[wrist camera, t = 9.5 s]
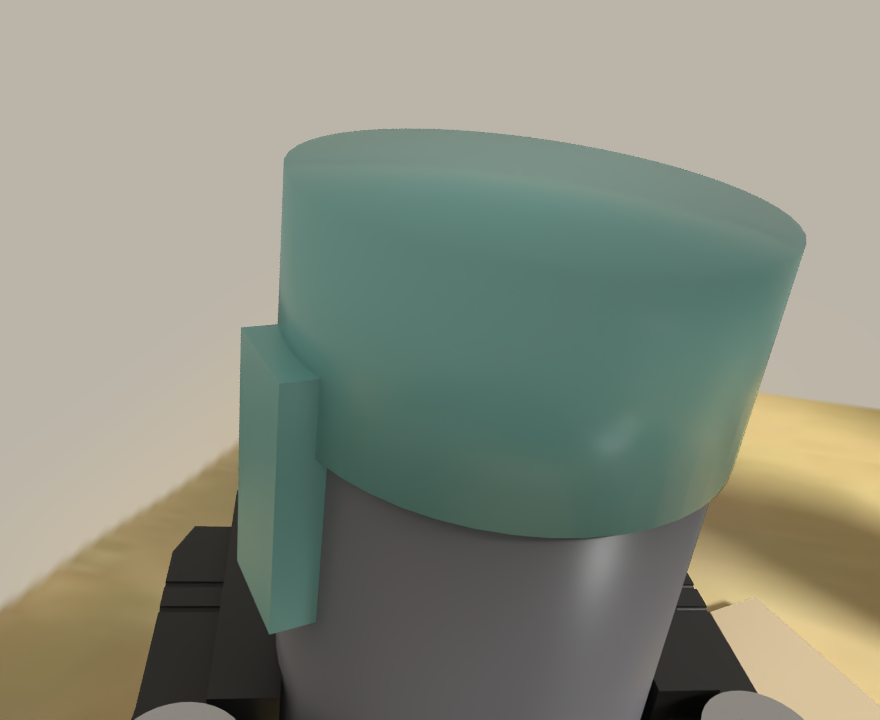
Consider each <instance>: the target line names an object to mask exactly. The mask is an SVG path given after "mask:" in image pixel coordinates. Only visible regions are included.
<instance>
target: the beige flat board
mask: <svg viewBox="0 0 880 720" xmlns="http://www.w3.org/2000/svg"><path fill="white" fill-rule="evenodd" d="M710 613H711V614H712V616H713V618H714V619H715V621H716V623H717V625H718V626H719V628H720V630H721V631H722V633H723V635H724V637H725V638H726V640H727V642H728V643H729V645H730V647H731V648H732V650H733V652H734V654H735V655H736V657H737V659H738V660H739V662H740V664H741V666H742V667H743V669H744V671H745V672H746V674H747V676H748V677H749V679H750V681H751V683H752V684H753V686H754V688H755V689H756V691H757V693H758V694H762V695H764V696H767V697H770V698H772V699H774V700H776V701H778V702H780V703H782V704H784V705H785V706H787V707H789V708H790V709H792V710H793V711H794V712H796V713H797V714H798V715H800V716H801V717H802V718H803V719H804V720H880V705H878V704H877V703H876V702H875V701H874V700H873V699H872V698H870V697H869V696H868V695H867V694H866V693H865V692H864V691H862V690H861V689H860V688H859V687H858V686H857V685H856V684H854V683H853V682H852V681H851V680H850V679H849V678H848V677H846V676H845V675H844V674H843V673H842V672H841V671H840V670H838V669H837V668H836V667H835V666H834V665H833V664H832V663H830V662H829V661H828V660H827V659H826V658H825V657H824V656H822V655H821V654H820V653H819V652H818V651H817V650H815V649H814V648H813V647H812V646H811V645H810V644H809V643H807V642H806V641H805V640H804V639H803V638H802V637H801V636H799V635H798V634H797V633H796V632H795V631H794V630H793V629H791V628H790V627H789V626H788V625H787V624H786V623H785V622H783V621H782V620H781V619H780V618H779V617H778V616H777V615H775V614H774V613H773V612H772V611H771V610H770V609H769V608H767V607H766V606H765V605H764V604H763V603H762V602H761V601H759V600H758V599H757V598H756V597H753V598H750V599H747V600H744V601H741V602H738V603H735V604H732V605H729V606H726V607H723V608H720V609H717V610H714V611H711V612H710Z"/></svg>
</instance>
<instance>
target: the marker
mask: <svg viewBox="0 0 880 720" xmlns="http://www.w3.org/2000/svg"><path fill="white" fill-rule="evenodd" d="M283 174H284V175H283V199H282V226H281V253H280V279H279V307H278V324H276V325H266V326H254V327H244V328H241V364H240V367H241V368H240V424H239V426H240V427H239V484H238V544H237V562H238V564H239V566H240V568H241V571H242V573H243V575H244V578H245V580H246V582H247V585H248V587H249V589H250V591H251V594H252V596H253V598H254V601H255V603H256V605H257V608H258V610H259V612H260V615H261V617H262V619H263V621H264V624H265V626H266V628H267V631H268V633H269V635H270V634H274V633H276V649H277V656H278V662H279V666H280V669H281V688H280V708H279V720H640V719H641V716H642V712H643V709H644V706H645V703H646V700H647V697H648V693H649V690H650V687H651V684H652V681H653V678H654V675H655V671H656V668H657V665H658V662H659V659H660V656H661V652H662V649H663V646H664V643H665V640H666V637H667V634H668V630H669V627H670V624H671V621H672V618H673V615H674V612H675V608H676V605H677V602H678V599H679V596H680V593H681V589H682V586H683V583H684V580H685V577H686V574H687V571H688V567H689V564H690V561H691V558H692V555H693V552H694V548H695V545H696V542H697V539H698V536H699V533H700V530H701V526H702V523H703V520H704V517H705V514H706V511H707V508H708V504H709V501H711V500H712V499H713V498H715V497H716V496H717V494H718V493H719V492H720V491H721V490H722V488H723V487H724V486H725V485H726V483H727V481H728V479H729V477H730V474H731V472H732V470H733V467H734V464H735V461H736V458H737V455H738V452H739V449H740V446H741V442H742V439H743V436H744V433H745V430H746V427H747V424H748V421H749V418H750V415H751V412H752V409H753V406H754V402H755V399H756V396H757V393H758V390H759V387H760V384H761V381H762V378H763V375H764V372H765V369H766V366H767V362H768V359H769V356H770V353H771V350H772V347H773V344H774V341H775V338H776V335H777V332H778V329H779V326H780V322H781V319H782V316H783V313H784V310H785V307H786V304H787V301H788V298H789V295H790V292H791V289H792V286H793V283H794V280H795V277H796V273H797V270H798V267H799V264H800V261H801V258H802V255H803V252H804V249H805V245H806V235H805V233H804V231H803V230H802V228H801V227H800V225H799V224H798V223H797V222H796V221H795V220H794V219H793V218H792V217H790V216H789V215H788V214H786V213H785V212H783V211H782V210H780V209H779V208H777V207H776V206H774V205H772V204H770V203H768V202H767V201H765V200H763V199H761V198H759V197H757V196H754V195H752V194H750V193H748V192H746V191H743V190H741V189H739V188H736V187H733V186H731V185H728V184H725V183H723V182H720V181H718V180H715V179H712V178H709V177H706V176H703V175H700V174H696V173H693V172H690V171H687V170H684V169H681V168H677V167H673V166H670V165H666V164H662V163H659V162H655V161H651V160H647V159H643V158H639V157H634V156H630V155H626V154H621V153H617V152H611V151H607V150H602V149H597V148H592V147H586V146H581V145H576V144H570V143H564V142H558V141H551V140H544V139H537V138H530V137H522V136H514V135H505V134H496V133H495V134H494V133H485V132H474V131H460V130H441V129H378V130H363V131H354V132H345V133H338V134H333V135H327V136H323V137H319V138H316V139H312V140H309V141H307V142H304V143H302V144H300V145H298V146H296V147H295V148H293V149H292V150H291V151H289V152H288V154H287V155H286V157H285V158H284V173H283Z"/></svg>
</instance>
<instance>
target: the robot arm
mask: <svg viewBox="0 0 880 720" xmlns="http://www.w3.org/2000/svg"><path fill="white" fill-rule="evenodd" d="M237 544H238V491H237V495H236V502H235V509H234V515H233V522H232V527H206V526H195V527H194V528H193V529H192V530H191V532H190V533H189V534H188V535H187V536H186V537H185V538H184V540H183V541H182V542H181V543H180V544H179V545H178V546H177V548H176V549H175V550H174V551H173V553H172V558H171V562H170V566H169V570H168V574H167V579H166V586H165V587H164V591H163V595H162V600H161V604H160V612H158V616H157V621H156V625H155V629H154V633H153V637H152V641H151V646H150V650H149V654H148V658H147V662H146V667H145V671H144V675H143V679H142V683H141V688H140V692H139V696H138V700H137V704H136V708H135V711H134V714H133V717H132V719H131V720H279V708H280V688H281V669H280V666H279V662H278V656H277V649H276V633H274V634H270V635H269V633H268V631H267V628H266V626H265V624H264V621H263V619H262V617H261V615H260V612H259V610H258V608H257V605H256V603H255V601H254V598H253V596H252V594H251V591H250V589H249V587H248V585H247V582H246V580H245V578H244V575H243V573H242V571H241V568H240V566H239V564H238V562H237ZM693 585H694V584H693V582H692V580H691V578H690V577H689V575H688V573H687V574H686V577H685V580H684V583H683V586H682V589H681V593H680V596H679V599H678V602H677V605H676V608H675V612H674V615H673V618H672V621H671V624H670V627H669V630H668V634H667V637H666V640H665V643H664V646H663V649H662V652H661V656H660V659H659V662H658V665H657V668H656V671H655V675H654V678H653V681H652V684H651V687H650V690H649V693H648V697H647V700H646V703H645V706H644V709H643V712H642V716H641V719H640V720H804V719H803V718H802V717H801V716H800V715H798V714H797V713H796V712H794V711H793V710H792V709H790V708H789V707H787V706H785V705H784V704H782V703H780V702H778V701H776V700H774V699H772V698H770V697H767V696H764V695H762V694H758V693H757V691H756V689H755V688H754V686H753V684H752V683H751V681H750V679H749V677H748V676H747V674H746V672H745V671H744V669H743V667H742V666H741V664H740V662H739V660H738V659H737V657H736V655H735V654H734V652H733V650H732V648H731V647H730V645H729V643H728V642H727V640H726V638H725V637H724V635H723V633H722V631H721V630H720V628H719V626H718V625H717V623H716V621H715V619H714V618H713V616H712V614H711V613H710V612H707V609H706V607H707V606H706V604H705V602H704V601H703V599H702V597H701V596H700V594H699V592H698V590H697V589H694V587H693Z"/></svg>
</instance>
